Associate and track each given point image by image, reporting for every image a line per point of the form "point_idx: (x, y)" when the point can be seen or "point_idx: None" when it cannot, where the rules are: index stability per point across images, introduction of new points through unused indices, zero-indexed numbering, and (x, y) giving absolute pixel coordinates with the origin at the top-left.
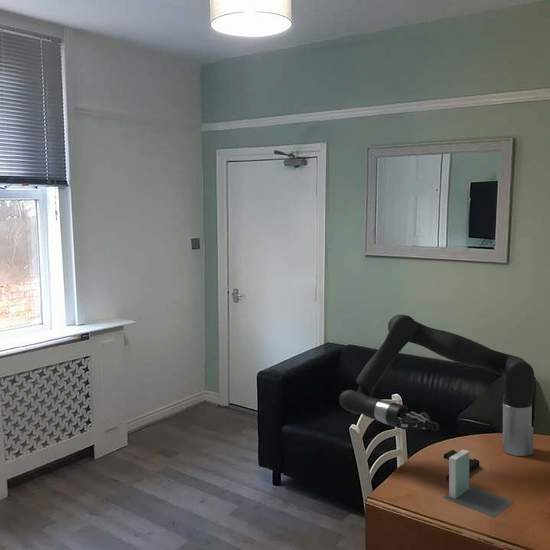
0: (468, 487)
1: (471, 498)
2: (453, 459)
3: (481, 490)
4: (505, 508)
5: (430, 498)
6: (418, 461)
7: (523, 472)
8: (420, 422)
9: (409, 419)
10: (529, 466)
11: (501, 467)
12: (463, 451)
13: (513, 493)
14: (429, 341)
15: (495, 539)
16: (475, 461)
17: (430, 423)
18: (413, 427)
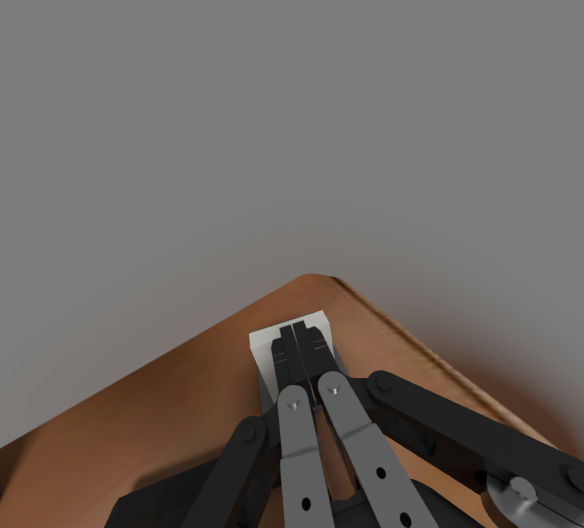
0: None
1: None
2: (324, 314)
3: (260, 380)
4: (281, 322)
5: None
6: None
7: (117, 411)
8: (375, 372)
9: (464, 520)
10: (75, 428)
11: (104, 464)
12: (262, 337)
13: (223, 356)
14: None
15: (348, 287)
16: (129, 503)
17: (313, 347)
18: (427, 441)
